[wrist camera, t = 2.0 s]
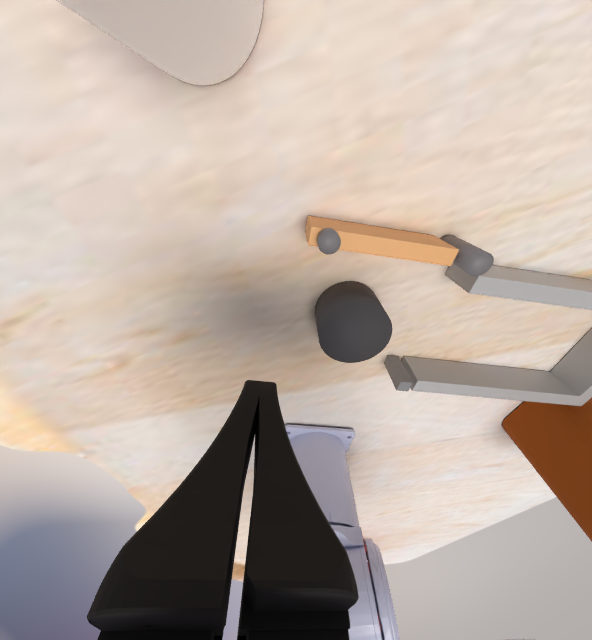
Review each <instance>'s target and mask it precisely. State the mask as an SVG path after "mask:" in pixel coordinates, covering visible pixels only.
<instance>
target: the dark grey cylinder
mask: <svg viewBox="0 0 592 640" xmlns="http://www.w3.org/2000/svg"><path fill="white" fill-rule="evenodd" d="M315 317H316V323H317V330H318V336H319V343H320V346H321V348H322V349H323V351H324V352H325V353H326V354H327V355H328V356H329V357H331V358H333V359H335V360H337V361H341V362H347V363H354V362H361V361H364V360H367V359H370V358H372V357H374V356H375V355H377V354H378V353H380V352H381V351H382V350H383V349H384V348H385V347H386V345H387V344H388V342H389V340H390V338H391V334H392V324H391V320H390V318H389V317H388V315H387V313H386V312H385V310H384V308H383V307H382V305H381V303H380V302H379V300H378V299H377V297H376V295H375V294H374V292H373V291H372V290H371V289H370V288H369V287H368V286H366V285H364V284H362V283H359V282H355V281H345V282H340V283H337V284H335V285H333V286H331V287H329V288H328V289H326V290H325V291H324V292H323V293H322V294H321V296H320V297H319V299H318V301H317V303H316V306H315Z"/></svg>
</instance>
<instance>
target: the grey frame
mask: <svg viewBox="0 0 592 640" xmlns="http://www.w3.org/2000/svg"><path fill="white" fill-rule="evenodd" d="M445 275H446V276H447V277H449V278H450V279H451V280H453V281H454V282H455V283H456V284H458V285H459V286H460V287H462V288H463V289H464V290H465V291H467V292H468V293H471V294H478V295H486V296H493V297H500V298H508V299H515V300H522V301H530V302H537V303H544V304H552V305H559V306H566V307H574V308H581V309H588V310H592V280H588V279H582V278H575V277H568V276H562V275H555V274H548V273H542V272H535V271H528V270H522V269H515V268H508V267H502V266H495V265H492V266H491V268H490V269H489V270H488V271H487V272H486V273H484V274H482V275H480V276H472V275H470V274H468V273H467V272H465V271H464V270H462V269H461V268H459V267H458V266H456V265H455V264H453V263H452V265H451V266H449V268H448V270H447V272H446V274H445ZM384 364H385V366H386V368H387V371H388V373H389V375H390V377H391V379H392V382H393V384H394V386H395V388H396V390H400V391H408V390H409V388H411V389H412V391H421V392H432V393H443V394H454V395H465V396H476V397H486V398H497V399H508V400H519V401H530V402H541V403H552V404H563V405H574V406H582V405H583V404H585V403H586V402H587V401H588V400H589V399H590V398H592V328H591V329H590V330H589V331H588V333H587V334H586V335H585V336H584V337H583V338H582V339H581V340H580V341H579V342H578V343H577V344H576V345H575V346H574V347H573V348H572V349H571V350H570V351H569V352H568V353H567V354H566V356H565V357H564V358H563V359H562V360H561V361H560V362H559V363H558V364H557V365H556V366H555V367H554V368H553V369H552V370H551V371H540V370H531V369H522V368H512V367H503V366H493V365H484V364H474V363H465V362H456V361H446V360H437V359H427V358H418V357H408V356H404V357H403V359H402V361H401V360H400V358H399V357H398V356H391V355H388V356H387V358H386V361H385V363H384Z"/></svg>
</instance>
